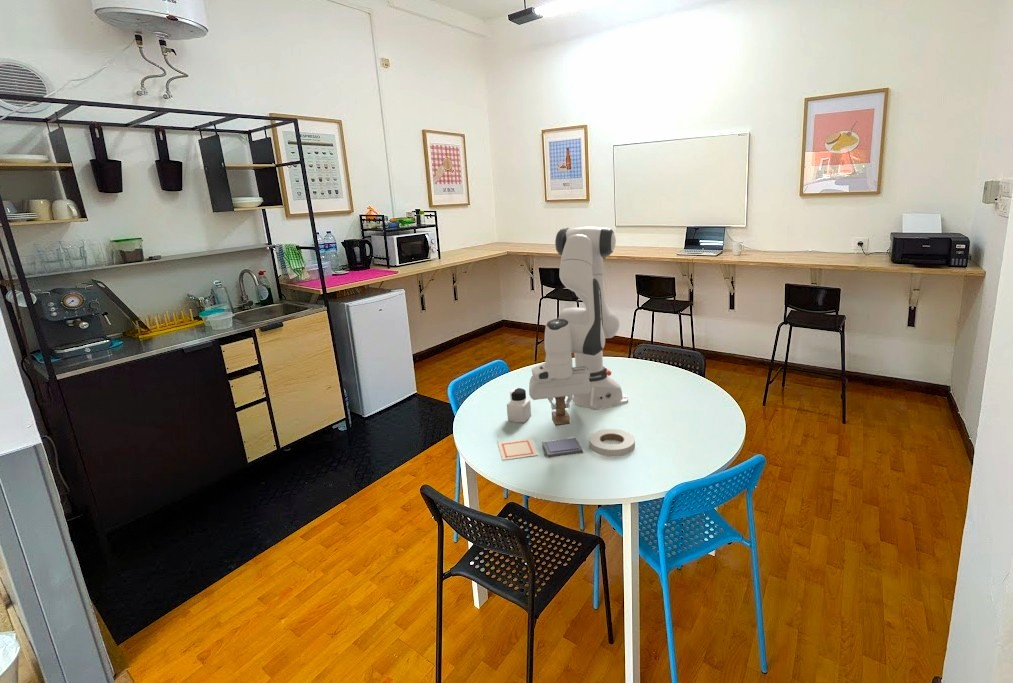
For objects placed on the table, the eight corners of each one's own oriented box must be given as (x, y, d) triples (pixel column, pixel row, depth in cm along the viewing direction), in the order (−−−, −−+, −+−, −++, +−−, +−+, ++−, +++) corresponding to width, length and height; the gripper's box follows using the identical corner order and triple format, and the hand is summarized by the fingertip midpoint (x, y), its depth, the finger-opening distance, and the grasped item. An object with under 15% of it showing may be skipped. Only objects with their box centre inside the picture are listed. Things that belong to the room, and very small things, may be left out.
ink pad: (575, 440, 181) (575, 436, 180) (583, 453, 172) (582, 449, 172) (542, 445, 179) (542, 441, 179) (548, 457, 171) (547, 453, 170)
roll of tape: (586, 436, 184) (586, 429, 183) (629, 434, 183) (629, 427, 182) (592, 458, 169) (592, 451, 168) (639, 456, 168) (639, 448, 168)
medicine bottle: (531, 415, 203) (529, 387, 199) (524, 423, 197) (522, 394, 193) (514, 413, 206) (513, 385, 202) (507, 420, 200) (505, 392, 196)
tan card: (530, 439, 184) (530, 438, 184) (537, 455, 173) (537, 454, 173) (497, 443, 183) (497, 442, 183) (502, 460, 171) (502, 459, 171)
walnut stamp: (566, 418, 175) (565, 387, 172) (570, 424, 171) (569, 393, 167) (552, 419, 175) (550, 389, 171) (555, 426, 170) (554, 395, 167)
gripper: (587, 362, 171) (587, 400, 175) (526, 369, 169) (529, 407, 173) (592, 368, 165) (593, 408, 169) (530, 375, 163) (532, 415, 167)
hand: (560, 408), depth 171 cm, fingers closed on walnut stamp, 3 cm apart
